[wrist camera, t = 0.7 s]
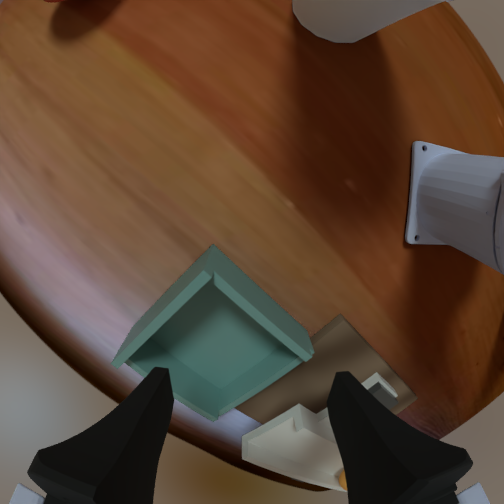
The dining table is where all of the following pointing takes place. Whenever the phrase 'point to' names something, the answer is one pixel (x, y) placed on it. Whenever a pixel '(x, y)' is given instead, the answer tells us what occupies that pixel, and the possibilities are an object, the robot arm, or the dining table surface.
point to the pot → (54, 0)
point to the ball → (343, 480)
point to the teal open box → (215, 337)
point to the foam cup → (354, 16)
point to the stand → (325, 375)
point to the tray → (306, 441)
